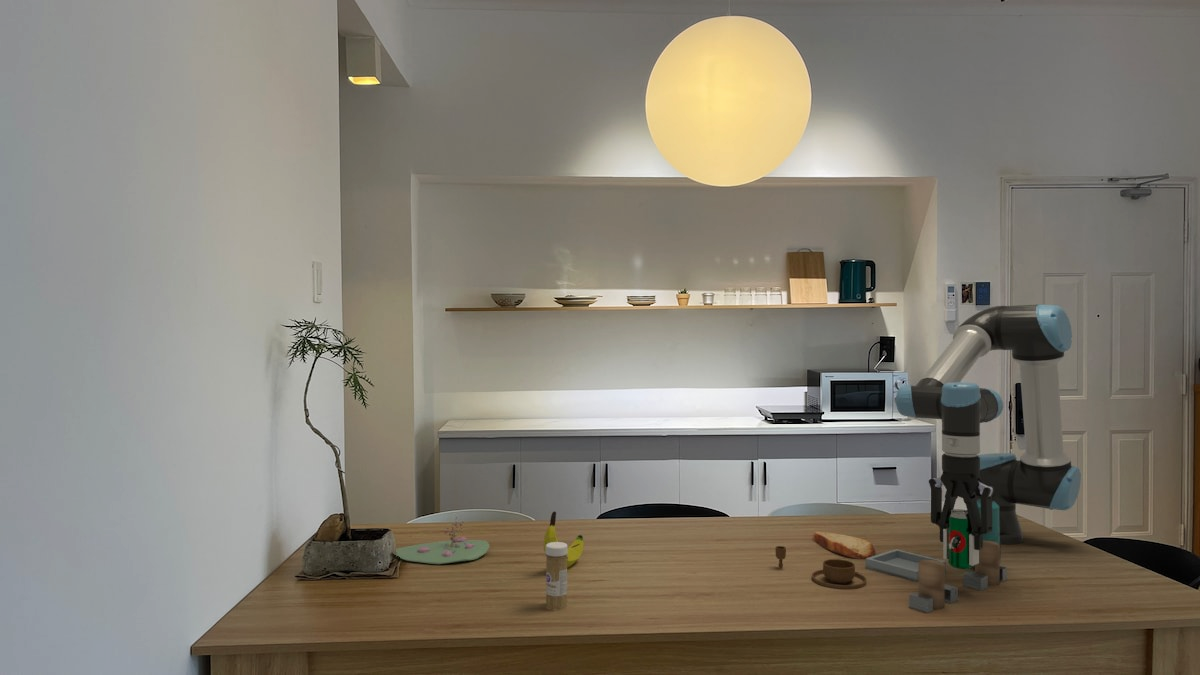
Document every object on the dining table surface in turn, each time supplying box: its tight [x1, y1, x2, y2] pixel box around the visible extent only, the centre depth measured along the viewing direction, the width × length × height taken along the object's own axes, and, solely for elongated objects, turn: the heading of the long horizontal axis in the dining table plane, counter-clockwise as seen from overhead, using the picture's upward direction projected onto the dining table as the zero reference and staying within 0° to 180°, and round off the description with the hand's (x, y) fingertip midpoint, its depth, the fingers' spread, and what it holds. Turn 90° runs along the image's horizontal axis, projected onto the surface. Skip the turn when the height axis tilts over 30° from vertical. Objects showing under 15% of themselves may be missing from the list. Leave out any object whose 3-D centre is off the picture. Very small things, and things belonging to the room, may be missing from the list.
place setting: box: [775, 545, 867, 590], centre depth 180 cm, size 18×20×6 cm
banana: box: [543, 511, 585, 569], centre depth 187 cm, size 5×17×15 cm, turn 155°
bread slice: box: [811, 531, 876, 561], centre depth 204 cm, size 18×18×4 cm
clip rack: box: [908, 565, 1008, 614], centre depth 168 cm, size 34×4×3 cm, turn 128°
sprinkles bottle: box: [544, 541, 569, 612], centre depth 160 cm, size 5×5×14 cm
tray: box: [865, 548, 947, 583], centre depth 184 cm, size 13×13×2 cm
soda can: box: [947, 508, 975, 570], centre depth 168 cm, size 5×5×12 cm
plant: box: [395, 517, 490, 565], centre depth 202 cm, size 25×21×9 cm
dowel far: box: [974, 540, 1001, 587], centre depth 175 cm, size 5×5×9 cm
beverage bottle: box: [976, 486, 1002, 561], centre depth 184 cm, size 6×7×20 cm
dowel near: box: [917, 560, 946, 610], centre depth 160 cm, size 5×5×9 cm
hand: (960, 560), depth 168 cm, fingers closed on soda can, 5 cm apart
